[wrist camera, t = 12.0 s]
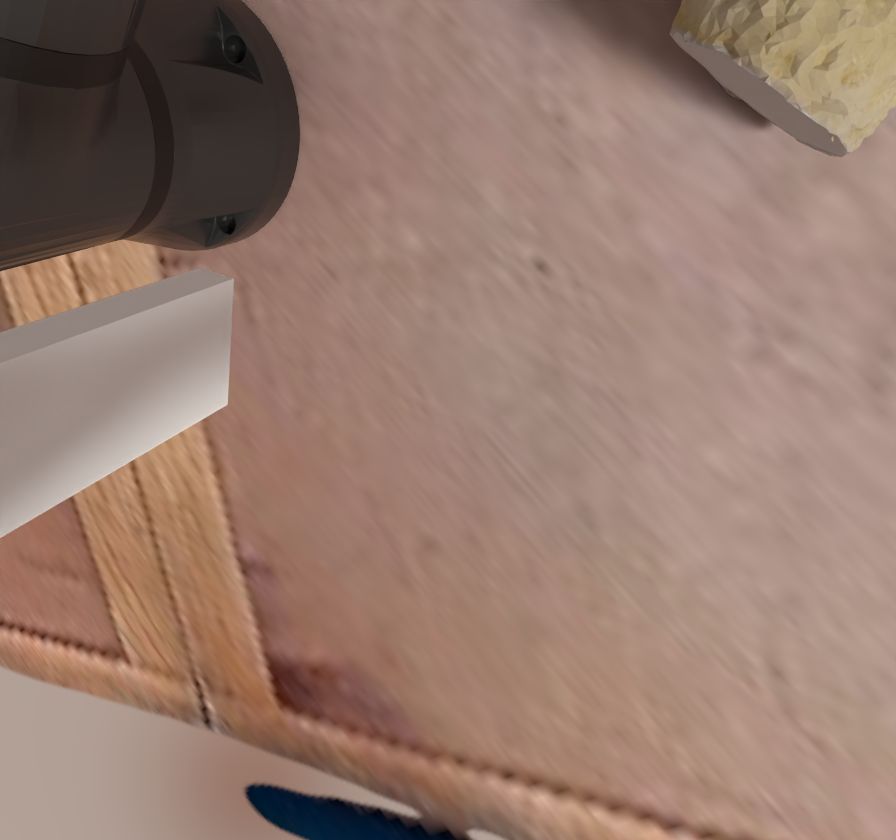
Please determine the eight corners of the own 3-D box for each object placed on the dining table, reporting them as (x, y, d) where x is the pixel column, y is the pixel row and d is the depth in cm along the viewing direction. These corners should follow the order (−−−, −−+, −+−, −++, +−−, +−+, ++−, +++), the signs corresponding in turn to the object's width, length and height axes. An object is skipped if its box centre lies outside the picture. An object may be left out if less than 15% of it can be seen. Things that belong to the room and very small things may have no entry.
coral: (581, 94, 31) (737, -175, 23) (691, 26, 37) (848, -209, 29) (758, 250, 30) (987, 27, 22) (843, 156, 36) (1050, -49, 28)
